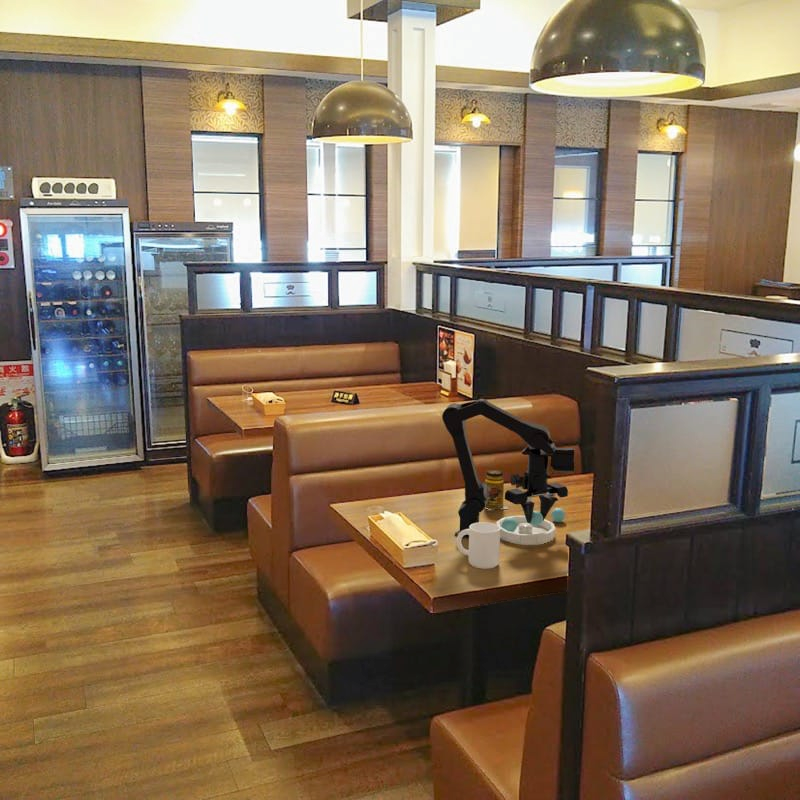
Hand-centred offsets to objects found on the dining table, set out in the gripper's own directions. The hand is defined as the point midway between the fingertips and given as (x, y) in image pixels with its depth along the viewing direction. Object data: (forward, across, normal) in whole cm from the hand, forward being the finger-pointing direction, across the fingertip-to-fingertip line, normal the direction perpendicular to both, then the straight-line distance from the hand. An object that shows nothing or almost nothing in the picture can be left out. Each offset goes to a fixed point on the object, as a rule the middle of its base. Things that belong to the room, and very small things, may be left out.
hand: (535, 521), depth 245 cm
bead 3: (+3, -16, -10) cm, 19 cm away
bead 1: (+3, +4, -7) cm, 8 cm away
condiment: (+6, -6, -32) cm, 33 cm away
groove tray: (+6, 0, -5) cm, 7 cm away
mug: (+6, +24, +7) cm, 26 cm away
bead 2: (-1, 0, 0) cm, 1 cm away
